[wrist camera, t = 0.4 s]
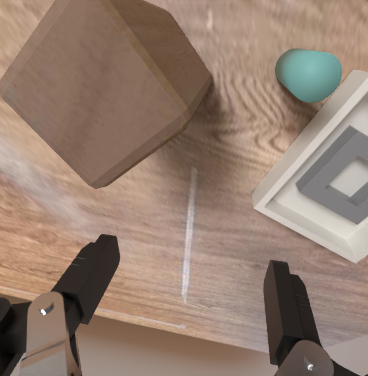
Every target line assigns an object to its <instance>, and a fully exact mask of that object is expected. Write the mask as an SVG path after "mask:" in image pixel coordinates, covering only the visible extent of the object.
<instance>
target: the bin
mask: <svg viewBox="0 0 368 376" xmlns="http://www.w3.org/2000/svg"><path fill="white" fill-rule="evenodd" d="M252 198H253V207H254V209H256V210H257V211H259V212H261V213H263V214H265V215H267V216H268V217H270V218H272V219H274V220H276V221H278V222H280V223H281V224H283V225H285V226H287V227H289V228H291V229H292V230H294V231H296V232H298V233H300V234H302V235H304V236H305V237H307V238H309V239H311V240H313V241H315V242H316V243H318V244H320V245H322V246H324V247H326V248H328V249H329V250H331V251H333V252H335V253H337V254H339V255H340V256H342V257H344V258H346V259H348V260H350V261H352V262H353V263H357V262H358V261H359V260H361V259H362V258H364V257H365V256H367V255H368V72H363V71H359V70H355V69H353V70H352V71H351V72H350V74H349V75H348V76H347V77H346V79H345V80H344V81H343V82H342V83H341V85H340V86H339V87H338V88H337V89H336V91H335V92H334V93H333V94H332V95H331V97H330V98H329V99H328V100H327V102H326V103H325V104H324V105H323V106H322V108H321V109H320V110H319V111H318V112H317V114H316V115H315V116H314V117H313V119H312V120H311V121H310V122H309V123H308V125H307V126H306V127H305V128H304V129H303V131H302V132H301V133H300V134H299V136H298V137H297V138H296V139H295V140H294V142H293V143H292V144H291V145H290V146H289V148H288V149H287V150H286V151H285V153H284V154H283V155H282V156H281V157H280V159H279V160H278V161H277V162H276V163H275V165H274V166H273V167H272V168H271V169H270V171H269V172H268V173H267V174H266V176H265V177H264V178H263V179H262V180H261V182H260V183H259V184H258V185H257V186H256V188H255V189H254V190H253V191H252Z"/></svg>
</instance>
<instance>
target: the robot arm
mask: <svg viewBox="0 0 368 376" xmlns="http://www.w3.org/2000/svg"><path fill="white" fill-rule="evenodd" d="M119 261H120V253H119V247H118V241H117V237H116V236H113V235H106V234H101V235H100V236H99V238H98V239H97V241H96V242H95V243H92V242H90V243H89V244H88V245H86V246H85V247H84V248H82V249H81V251H80V252H79V253H78V255H77V256H76V258H75V259H74V260H73V262H72V263H71V265H70V266H69V267H68V268H67V270H66V271H65V273H64V274H63V275H62V277H61V278H60V279H59V281H58V282H57V284H56V285H55V286H54V288H53V289H52V290H51V291H50V292H47V293H44V294H42V295H40V296H39V297H37V298H36V299H35V300H34V301H33V302H27V303H20V304H12V305H11V304H10V302H9V301H8V300H7V299H5V298H0V376H10V374H11V373H12V371H13V370H14V368H15V366H16V365H17V363H18V362H19V360H20V358H21V357H22V355H23V353H25V352H26V357H25V358H24V359H22V361H21V364H20V376H82V371H81V364H80V356H79V348H78V341H77V333H76V329H77V327H78V326H79V324H80V323H83V324H87V325H88V323H89V321H90V320H91V318H92V316H93V314H94V312H95V310H96V308H97V306H98V304H99V302H100V300H101V298H102V296H103V294H104V293H105V291H106V289H107V287H108V285H109V283H110V281H111V279H112V277H113V275H114V273H115V271H116V269H117V267H118V265H119ZM264 302H265V312H266V323H267V333H268V343H269V354H270V363H271V364H273V365H278V371H277V372H276V374H275V375H274V376H359V375H357V374H355V373H353V372H351V371H349V370H348V369H346V368H344V367H342V366H340V365H339V364H337V363H336V362H335V361H333V360H332V359H331V358H330V356H329V355H328V353H327V352H326V351H325V350H324V349H323V347H322V345H321V343H320V340H319V336H318V332H317V329H316V325H315V321H314V317H313V313H312V310H311V307H310V302H309V298H308V294H307V291H306V287H305V285H304V283H303V282H302V280H301V279H300V277H299V276H298V275H293V274H290V271H289V267H288V263H287V262H282V261H276V260H270V262H269V266H268V269H267V273H266V276H265V279H264ZM365 376H368V374H367V375H365Z"/></svg>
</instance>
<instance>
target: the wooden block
mask: <svg viewBox="0 0 368 376" xmlns="http://www.w3.org/2000/svg"><path fill="white" fill-rule="evenodd" d="M211 82H212V77H211V74H210V72H209V71H208V69H207V68H206V66H205V65H204V63H203V62H202V60H201V59H200V57H199V56H198V54H197V53H196V51H195V50H194V48H193V46H192V45H191V43H190V42H189V40H188V39H187V37H186V36H185V34H184V33H183V31H182V30H181V28H180V27H179V25H178V24H177V22H176V21H175V19H174V18H173V16H172V15H171V13H169V12H168V11H166V10H165V9H162V8H160V7H158V6H155V5H153V4H151V3H149V2H146V1H144V0H55V1H54V3H53V4H52V6H51V7H50V9H49V10H48V11H47V13H46V14H45V16H44V17H43V19H42V20H41V22H40V23H39V25H38V26H37V27H36V29H35V30H34V32H33V33H32V35H31V36H30V38H29V39H28V40H27V42H26V43H25V45H24V46H23V48H22V49H21V51H20V52H19V53H18V55H17V56H16V58H15V59H14V61H13V62H12V64H11V65H10V66H9V68H8V69H7V71H6V72H5V74H4V75H3V77H2V78H1V80H0V95H1V97H2V98H3V99H4V100H5V101H6V103H7V104H8V105H9V106H10V107H11V108H12V109H13V110H14V111H15V112H16V113H17V114H18V115H19V116H20V117H21V118H22V119H23V120H24V121H25V122H26V123H27V124H28V125H29V126H30V127H31V128H32V129H33V130H34V131H35V132H36V133H37V134H38V135H39V136H40V137H41V138H42V139H43V140H44V141H45V142H46V143H47V144H48V145H49V146H50V147H51V148H52V149H53V150H54V151H55V152H56V153H57V154H58V155H59V156H60V157H61V158H62V159H63V160H64V161H65V162H66V163H67V164H68V165H69V166H70V167H71V168H72V169H73V170H74V171H75V172H76V173H77V174H78V175H79V176H80V177H81V178H82V179H83V180H84V181H85V182H86V183H87V184H88V185H89V186H91V187H93V188H95V189H98V188H101V187H105V186H108V185H109V184H111V183H112V182H114V181H115V180H116V179H118V178H119V177H120V176H122V175H123V174H125V173H126V172H127V171H129V170H130V169H131V168H133V167H134V166H136V165H137V164H138V163H140V162H141V161H142V160H144V159H145V158H146V157H148V156H149V155H151V154H152V153H153V152H155V151H156V150H157V149H159V148H160V147H162V146H163V145H164V144H166V143H167V142H168V141H170V140H171V139H173V138H174V137H175V136H177V135H178V134H179V133H181V132H182V131H184V130H185V129H186V127H187V125H188V123H189V122H190V120H191V118H192V116H193V115H194V113H195V111H196V109H197V108H198V106H199V104H200V102H201V100H202V99H203V97H204V95H205V93H206V91H207V90H208V88H209V86H210V84H211Z"/></svg>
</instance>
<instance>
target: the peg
mask: <svg viewBox="0 0 368 376" xmlns="http://www.w3.org/2000/svg"><path fill="white" fill-rule="evenodd" d="M275 74H276V77H277V79H278V80H279V81H280V82H281V83H282V84H283V85H284V86H285V87H286V88H287V89H288V90H289V91H290V92H291V93H292V94H294V95H295V96H296V97H297V98H298V99H299V100H301V101H304V102H309V103H312V102H318V101H321V100H323V99H325V98H327V97H328V96H329V95H331V94H332V93H333V92H334V91H335V89H336V88H337V86H338V85H339V83H340V80H341V76H342V67H341V64H340V62H339V60H338V59H337V58H336V57H335V56H334V55H332V54H330V53H326V52H319V51H312V50H304V49H291V50H288V51H287V52H285V53H284V54H283V55H282V56H281V57H280V58H279V60H278V61H277V64H276V67H275Z"/></svg>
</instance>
